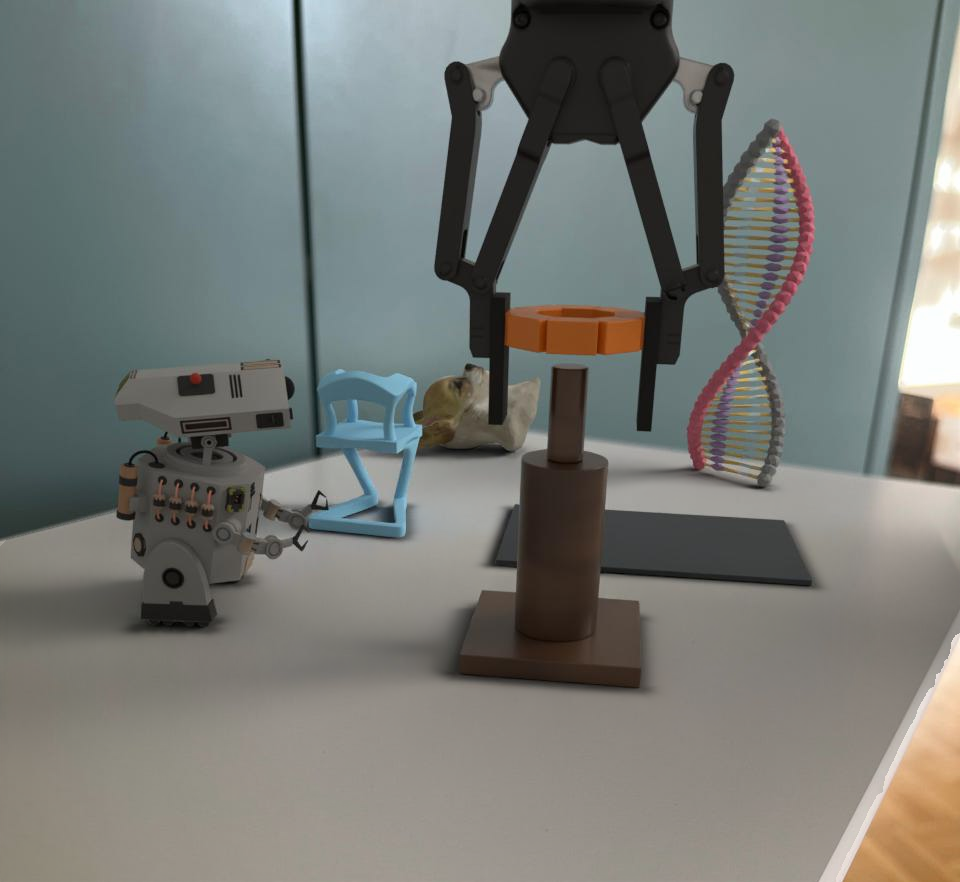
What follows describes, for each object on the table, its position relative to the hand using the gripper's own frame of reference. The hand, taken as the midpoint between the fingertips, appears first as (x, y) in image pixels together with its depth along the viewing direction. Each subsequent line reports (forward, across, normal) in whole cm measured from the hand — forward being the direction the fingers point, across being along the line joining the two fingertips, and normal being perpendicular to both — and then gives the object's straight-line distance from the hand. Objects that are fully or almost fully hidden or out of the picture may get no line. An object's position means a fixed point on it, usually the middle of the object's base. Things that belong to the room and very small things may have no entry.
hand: (570, 422), depth 56 cm
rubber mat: (+13, +6, +20) cm, 25 cm away
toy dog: (+13, -12, +47) cm, 50 cm away
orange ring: (-4, 0, 0) cm, 4 cm away
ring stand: (+13, 0, 0) cm, 13 cm away
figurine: (+13, -21, +3) cm, 25 cm away
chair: (+13, -16, +22) cm, 30 cm away
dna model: (+14, +14, +41) cm, 45 cm away
